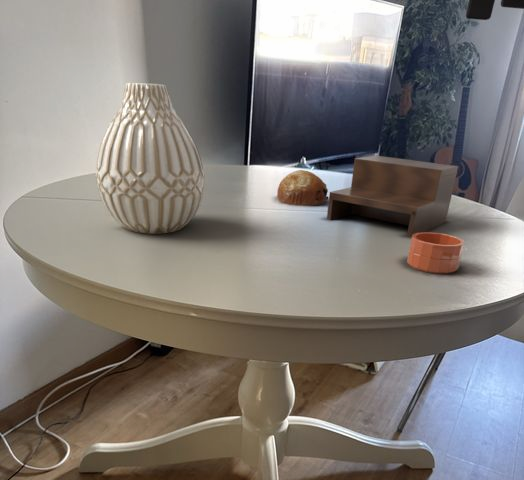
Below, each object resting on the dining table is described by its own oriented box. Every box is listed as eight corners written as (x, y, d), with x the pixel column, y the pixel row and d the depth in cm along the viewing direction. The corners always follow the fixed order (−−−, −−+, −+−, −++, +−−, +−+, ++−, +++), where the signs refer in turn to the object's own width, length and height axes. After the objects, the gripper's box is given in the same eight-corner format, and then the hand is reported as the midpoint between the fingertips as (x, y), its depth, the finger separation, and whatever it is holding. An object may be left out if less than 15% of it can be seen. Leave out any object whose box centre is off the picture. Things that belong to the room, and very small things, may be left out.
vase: (80, 226, 74) (60, 78, 65) (157, 211, 86) (151, 83, 76) (149, 248, 66) (139, 83, 57) (225, 228, 77) (227, 88, 68)
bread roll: (290, 213, 106) (277, 177, 103) (334, 196, 102) (322, 159, 99) (280, 222, 97) (265, 184, 95) (327, 205, 93) (314, 164, 90)
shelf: (445, 223, 89) (458, 166, 84) (410, 239, 77) (423, 174, 73) (367, 208, 97) (375, 155, 92) (326, 220, 86) (333, 161, 81)
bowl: (463, 268, 65) (471, 239, 63) (447, 280, 61) (454, 249, 59) (417, 257, 69) (423, 229, 67) (398, 267, 64) (404, 238, 62)
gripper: (634, -226, 43) (565, 5, 51) (532, -143, 59) (492, 24, 67) (554, -235, 43) (497, -1, 51) (473, -150, 58) (439, 20, 66)
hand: (494, 13), depth 59 cm, fingers open, 9 cm apart
